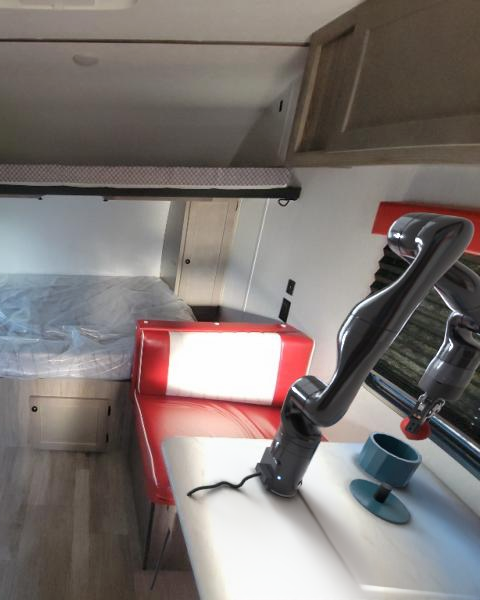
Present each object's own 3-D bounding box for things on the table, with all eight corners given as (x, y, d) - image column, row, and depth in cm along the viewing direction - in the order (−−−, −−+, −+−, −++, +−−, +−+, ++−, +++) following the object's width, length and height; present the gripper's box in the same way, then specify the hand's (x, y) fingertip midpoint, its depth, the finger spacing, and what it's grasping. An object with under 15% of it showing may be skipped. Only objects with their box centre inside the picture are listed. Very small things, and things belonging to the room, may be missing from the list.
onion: (411, 433, 94) (425, 410, 91) (428, 448, 89) (444, 425, 86) (389, 429, 95) (402, 407, 92) (406, 445, 89) (420, 421, 86)
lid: (372, 522, 84) (383, 505, 82) (338, 479, 96) (346, 463, 94) (420, 527, 85) (432, 511, 82) (380, 483, 96) (390, 468, 94)
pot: (376, 486, 95) (392, 460, 92) (347, 454, 106) (360, 429, 102) (416, 490, 95) (433, 464, 92) (383, 457, 106) (397, 433, 102)
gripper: (437, 364, 91) (408, 413, 97) (415, 374, 84) (386, 426, 90) (476, 379, 85) (442, 431, 91) (456, 392, 78) (421, 446, 84)
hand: (414, 428), depth 90 cm, fingers closed on onion, 6 cm apart
